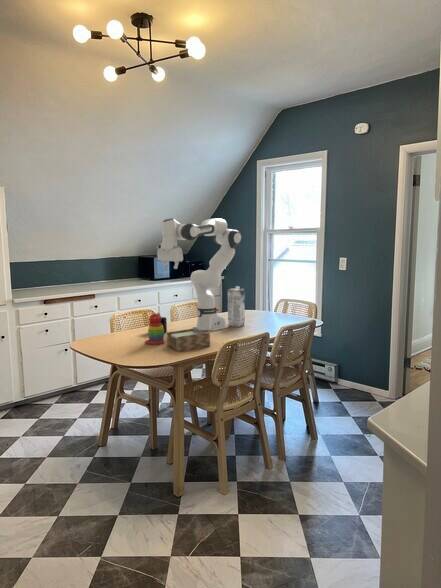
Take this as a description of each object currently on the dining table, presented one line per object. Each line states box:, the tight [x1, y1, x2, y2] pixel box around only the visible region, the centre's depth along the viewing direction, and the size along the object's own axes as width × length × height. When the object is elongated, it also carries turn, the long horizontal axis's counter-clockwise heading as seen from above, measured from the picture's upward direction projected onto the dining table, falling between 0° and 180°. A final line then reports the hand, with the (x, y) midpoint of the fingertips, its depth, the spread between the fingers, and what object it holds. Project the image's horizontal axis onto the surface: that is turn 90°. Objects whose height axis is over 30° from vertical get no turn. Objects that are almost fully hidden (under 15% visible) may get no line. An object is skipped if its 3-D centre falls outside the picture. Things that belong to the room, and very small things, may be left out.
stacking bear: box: [144, 312, 165, 346], centre depth 254 cm, size 11×10×18 cm
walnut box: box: [166, 328, 211, 353], centre depth 246 cm, size 20×14×8 cm
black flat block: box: [149, 316, 168, 334], centre depth 280 cm, size 4×10×10 cm, turn 78°
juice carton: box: [227, 286, 246, 328], centre depth 297 cm, size 9×10×27 cm
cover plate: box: [171, 326, 204, 339], centre depth 245 cm, size 17×11×4 cm, turn 123°
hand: (170, 268), depth 265 cm, fingers open, 8 cm apart
